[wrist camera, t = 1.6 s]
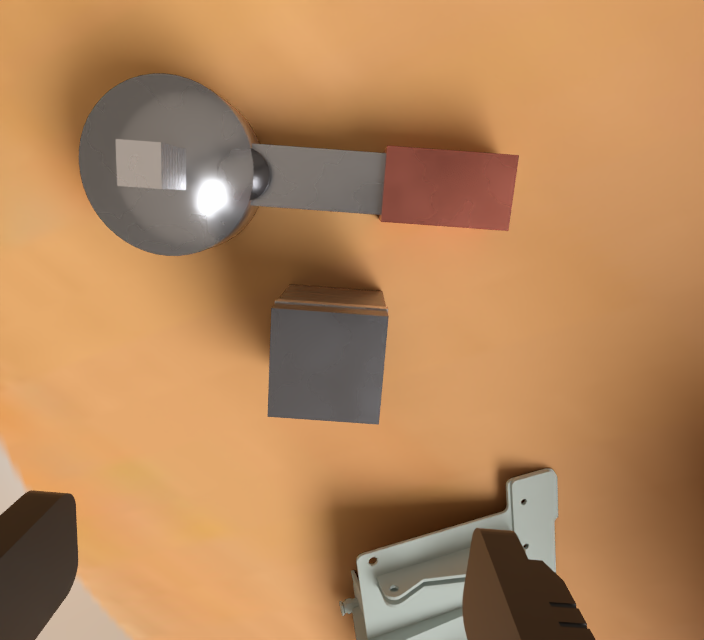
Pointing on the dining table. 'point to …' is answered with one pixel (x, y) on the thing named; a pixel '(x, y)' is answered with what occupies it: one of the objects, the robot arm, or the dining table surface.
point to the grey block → (327, 354)
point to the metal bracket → (445, 567)
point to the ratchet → (259, 172)
